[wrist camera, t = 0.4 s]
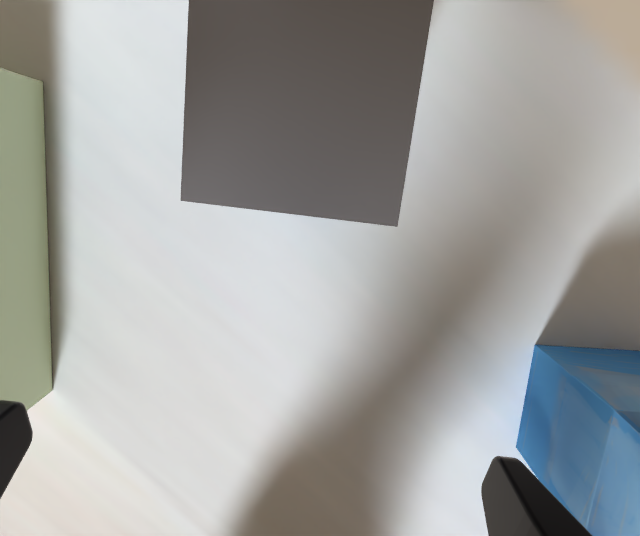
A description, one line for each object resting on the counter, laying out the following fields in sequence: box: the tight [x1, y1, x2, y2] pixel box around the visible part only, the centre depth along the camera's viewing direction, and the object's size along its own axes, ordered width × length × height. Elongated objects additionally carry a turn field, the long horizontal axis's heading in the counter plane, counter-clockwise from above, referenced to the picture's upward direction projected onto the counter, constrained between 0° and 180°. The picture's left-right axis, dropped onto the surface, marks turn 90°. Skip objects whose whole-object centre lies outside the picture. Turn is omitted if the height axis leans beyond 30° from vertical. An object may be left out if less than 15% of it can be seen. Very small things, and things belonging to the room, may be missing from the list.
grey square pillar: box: [181, 0, 434, 227], centre depth 14 cm, size 5×4×12 cm
